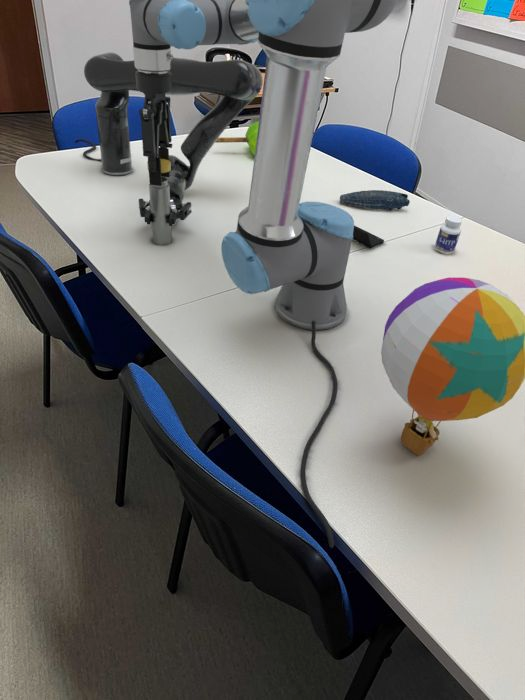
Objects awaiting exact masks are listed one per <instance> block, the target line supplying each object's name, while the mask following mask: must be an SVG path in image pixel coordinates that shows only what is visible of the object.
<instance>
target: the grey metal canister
mask: <svg viewBox="0 0 525 700" xmlns="http://www.w3.org/2000/svg"><path fill="white" fill-rule="evenodd" d="M148 190H149V200H150V207H151V223H150V224H151V236H152V242H153V243H154V244H156V245H159V246H165V245H169V244H171V243H172V240H173V239H172V226H169V216H170V214H171V211H170V186H169V184H168V183H167V178H165V177H162V185H161V186H157V185H150V183H149V184H148Z"/></svg>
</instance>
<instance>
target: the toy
mask: <svg viewBox="0 0 525 700" xmlns="http://www.w3.org/2000/svg"><path fill="white" fill-rule="evenodd" d="M381 343H382V344H381V351H380V355H381V363H382V366H383V369H384V371H385V374H386V375H387V378H388V380H389V382H390V384H391V386H392V388H393V389H394V391H395V392H396V393H397V395H399V397H400V398H401V399H402V400H403V401H404V402H405V403H406V404H407V405H408V406H409V407H410V408H411V409H412V414H411V418H410V421H409V422H405V423H404V427H403V428H402V432H401V437H400V443H401V444H402V445H403V446H404V447H406V449H408V450H410V451H411V452H412V453H413V454H415V455H416V456H422V455H423V454H424V453H425V452H427V451H428V450H429V449H430V448H431V447H433V446H434V444H435V443H436V441H439V435H440V430H439V428H438V426H440V424H441V422H451V421H453V422H454V421H463V420H470V419H477V418H480V417H482V416H484V415H486V414H488V413H490V412H493V411H495V410H497V409H499V408H501V407H504V406H505V405H506V404H507V403H508V402H509V401H511V400H512V399H513V398H514V397H515V395H516V393H517V392H518V391H519V389H520V388H521V386H522V384H523V383H524V381H525V313H524V312H523V311H522V309H521V308H520V307H519V306H518V305H517V304H516V302H514V300H513V299H512V298H511V297H510V296H509V295H508V293H506V292H504V291H502V290H501V289H499V288H498V287H496V286H494V285H493V284H490V283H488V282H485V281H483V280H479V279H475V278H469V277H445V278H440V279H437V280H433V281H430V282H426V283H424V284H422V285H420V286H418V287H416V288H414V289H413V290H412V291H411V292H410V293H409V294H407V296H405V298H403V299H402V300H401V301H400V302H398V304H397V305H396V306H394V308H393V310H392V311H391V312H390V314H389V316H388V318H387V320H386V322H385V325H384V331H383V338H382V342H381ZM414 412H416V414H417V416H416V417H414V414H415V413H414ZM433 422H438V423H437V425H436V426H435V424H434V423H433Z"/></svg>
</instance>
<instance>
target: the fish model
mask: <svg viewBox="0 0 525 700" xmlns="http://www.w3.org/2000/svg"><path fill="white" fill-rule="evenodd" d="M410 202H411V201H410V200H409V195H408V194H406V193H403V192H402V193H401V192H399V191H392V190H382V189H380V190H379V189H377V190H376V189H368V190H360V191H352V192H348V193H344V194H341V195H340V196H339V203H343V204H346V205H349V206H351V207H357V208H362V209H371V210H372V209H374V210H384V211H385V210H386V211H391V210H394V209H397V210H402V208H404V207H408V206H409V205H410Z"/></svg>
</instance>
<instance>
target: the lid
mask: <svg viewBox="0 0 525 700" xmlns="http://www.w3.org/2000/svg"><path fill="white" fill-rule="evenodd" d="M160 160H161V173H165V172H169V171H170V170H171V164H170V161H169V160H166V159H160ZM146 164H147V171H149V168H148V161H147V162H146Z"/></svg>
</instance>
